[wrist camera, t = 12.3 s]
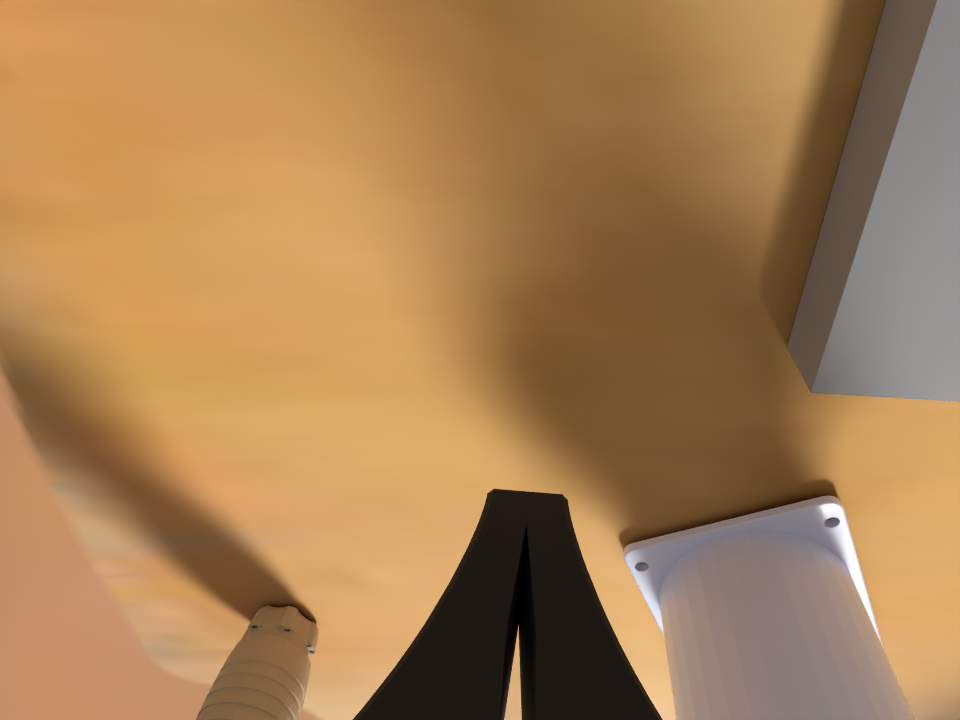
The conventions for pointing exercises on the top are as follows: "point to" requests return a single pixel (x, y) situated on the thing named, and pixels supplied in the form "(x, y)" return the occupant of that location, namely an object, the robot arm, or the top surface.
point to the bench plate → (892, 224)
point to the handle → (265, 669)
